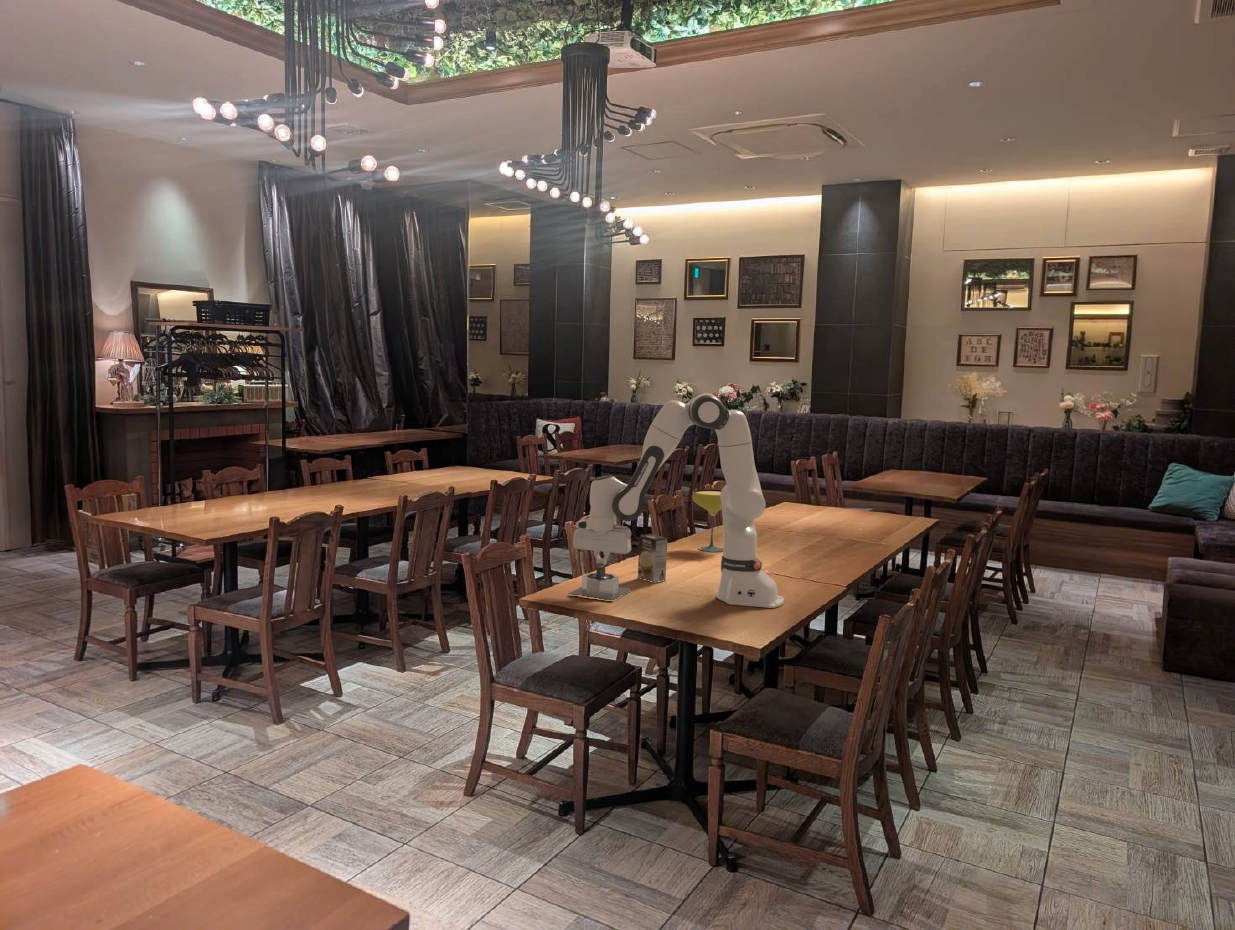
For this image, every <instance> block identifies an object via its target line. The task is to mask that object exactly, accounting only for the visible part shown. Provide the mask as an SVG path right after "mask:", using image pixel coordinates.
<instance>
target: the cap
mask: <svg viewBox="0 0 1235 930" xmlns="http://www.w3.org/2000/svg"><path fill="white" fill-rule="evenodd" d="M606 565H607V564H606ZM606 565H602V564H599V565H598V566H597V567H595V569H596V572H595V573H596V575H593V576H592V579H596V580H608V579H610V577H609V576H608V575H605V573H606V567H607V566H606Z"/></svg>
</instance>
